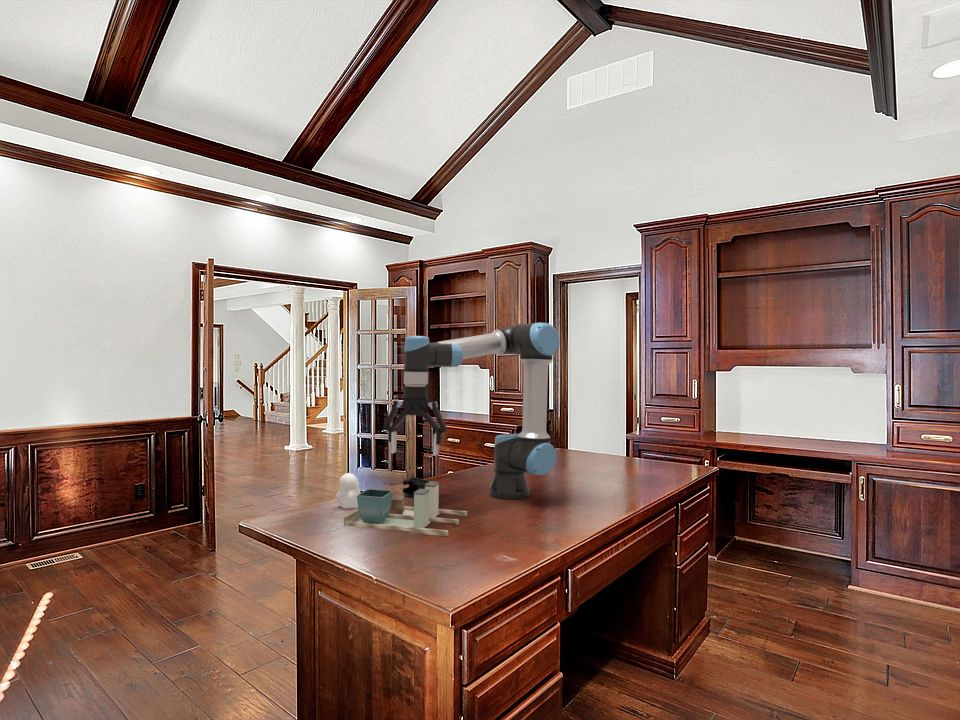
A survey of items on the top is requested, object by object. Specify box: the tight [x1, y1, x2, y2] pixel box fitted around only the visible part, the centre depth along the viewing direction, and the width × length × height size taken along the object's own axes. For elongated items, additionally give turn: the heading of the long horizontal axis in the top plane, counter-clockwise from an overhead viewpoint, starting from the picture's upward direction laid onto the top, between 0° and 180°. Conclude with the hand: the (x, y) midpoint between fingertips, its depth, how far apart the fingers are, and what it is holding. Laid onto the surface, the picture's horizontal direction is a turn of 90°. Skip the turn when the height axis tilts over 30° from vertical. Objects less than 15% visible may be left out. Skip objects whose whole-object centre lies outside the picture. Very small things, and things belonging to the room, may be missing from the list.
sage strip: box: [356, 489, 431, 528], centre depth 172 cm, size 22×10×11 cm, turn 76°
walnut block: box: [388, 495, 405, 515], centre depth 184 cm, size 5×5×5 cm
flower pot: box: [357, 488, 394, 524], centre depth 174 cm, size 9×9×9 cm
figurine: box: [336, 472, 361, 510], centre depth 191 cm, size 7×8×12 cm
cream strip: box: [402, 480, 441, 518], centre depth 183 cm, size 22×8×11 cm, turn 76°
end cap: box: [402, 476, 430, 499], centre depth 207 cm, size 10×7×7 cm
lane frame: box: [343, 505, 468, 537], centre depth 176 cm, size 33×22×3 cm
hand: (414, 453), depth 174 cm, fingers open, 13 cm apart
